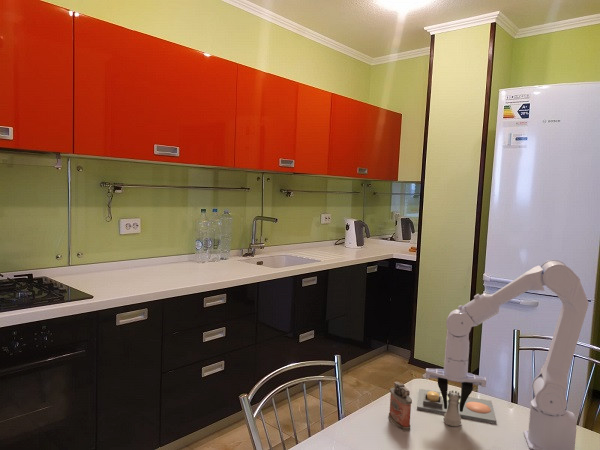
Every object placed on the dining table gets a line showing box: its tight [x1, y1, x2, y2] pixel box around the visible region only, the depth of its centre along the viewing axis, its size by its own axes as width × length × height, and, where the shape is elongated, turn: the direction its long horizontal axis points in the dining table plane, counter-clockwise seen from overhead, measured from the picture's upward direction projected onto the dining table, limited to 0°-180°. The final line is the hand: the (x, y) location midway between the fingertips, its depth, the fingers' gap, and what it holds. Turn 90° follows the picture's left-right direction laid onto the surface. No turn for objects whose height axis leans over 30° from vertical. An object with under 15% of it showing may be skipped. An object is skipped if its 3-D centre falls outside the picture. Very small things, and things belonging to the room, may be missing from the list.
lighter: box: [388, 381, 413, 432], centre depth 112 cm, size 8×3×10 cm, turn 17°
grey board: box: [416, 388, 497, 425], centre depth 123 cm, size 20×12×2 cm, turn 72°
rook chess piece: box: [442, 390, 462, 427], centre depth 113 cm, size 4×4×8 cm
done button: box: [427, 390, 439, 402], centre depth 122 cm, size 3×3×2 cm
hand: (453, 408), depth 113 cm, fingers closed on rook chess piece, 3 cm apart
